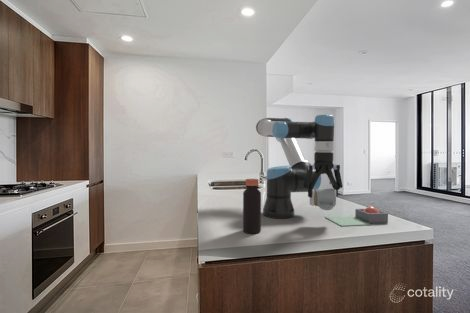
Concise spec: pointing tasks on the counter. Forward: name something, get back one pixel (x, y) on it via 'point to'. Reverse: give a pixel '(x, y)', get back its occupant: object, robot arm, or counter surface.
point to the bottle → (252, 207)
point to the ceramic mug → (325, 198)
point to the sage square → (346, 221)
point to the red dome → (371, 210)
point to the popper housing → (371, 216)
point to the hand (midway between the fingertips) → (322, 204)
